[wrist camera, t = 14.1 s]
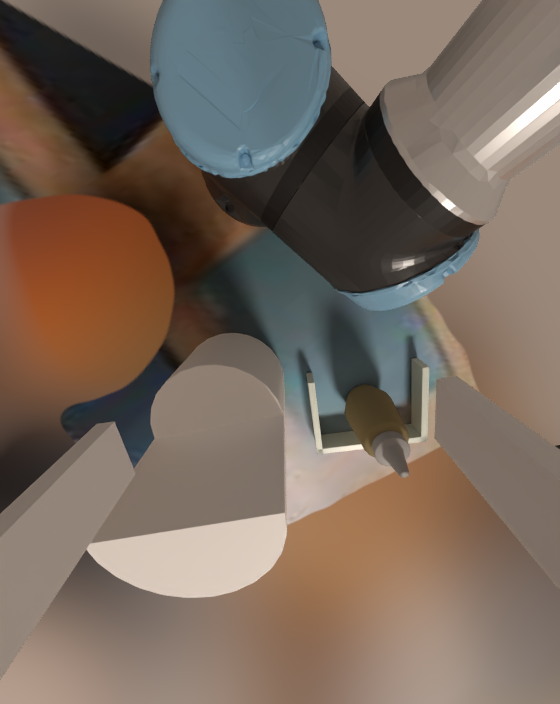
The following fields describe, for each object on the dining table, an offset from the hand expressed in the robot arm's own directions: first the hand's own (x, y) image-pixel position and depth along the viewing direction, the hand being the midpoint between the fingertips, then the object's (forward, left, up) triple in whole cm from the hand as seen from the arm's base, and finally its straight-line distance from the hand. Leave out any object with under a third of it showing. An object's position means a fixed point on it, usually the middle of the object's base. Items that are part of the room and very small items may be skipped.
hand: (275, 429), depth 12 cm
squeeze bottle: (+20, +12, -35) cm, 42 cm away
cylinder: (+13, -10, -35) cm, 39 cm away
